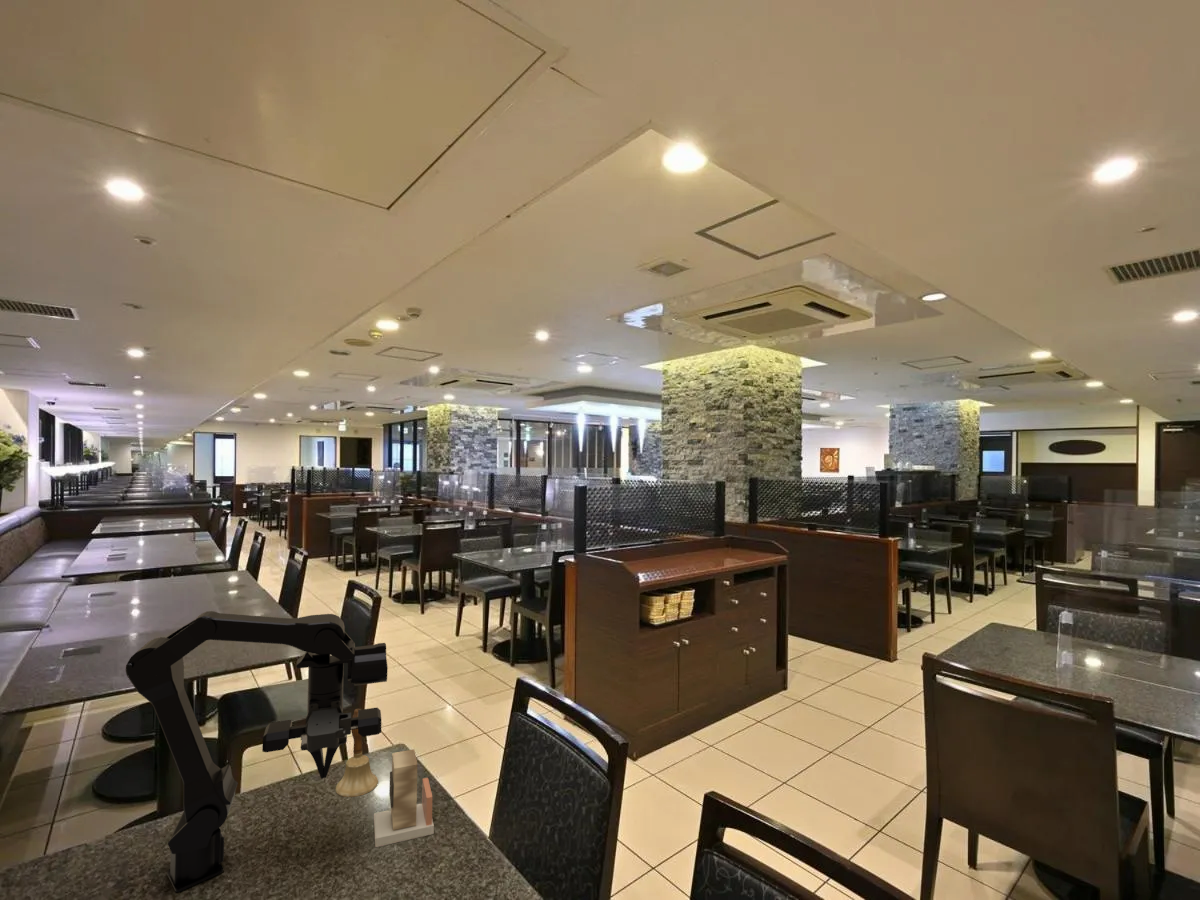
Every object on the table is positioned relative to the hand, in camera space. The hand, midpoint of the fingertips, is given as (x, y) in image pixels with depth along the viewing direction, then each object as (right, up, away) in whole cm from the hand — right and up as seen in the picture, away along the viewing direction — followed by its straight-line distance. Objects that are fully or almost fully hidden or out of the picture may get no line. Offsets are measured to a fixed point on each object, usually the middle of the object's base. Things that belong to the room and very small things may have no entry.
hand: (323, 777), depth 103 cm
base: (+12, -12, +5) cm, 18 cm away
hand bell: (-2, -13, +19) cm, 23 cm away
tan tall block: (+12, -11, +5) cm, 17 cm away
